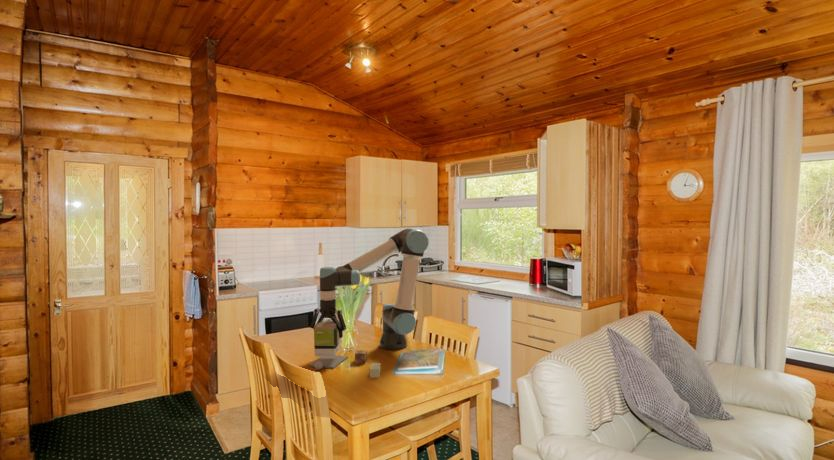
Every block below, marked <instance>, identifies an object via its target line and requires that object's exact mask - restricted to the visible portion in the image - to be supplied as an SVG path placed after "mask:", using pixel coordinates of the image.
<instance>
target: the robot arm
mask: <svg viewBox="0 0 834 460" xmlns="http://www.w3.org/2000/svg"><path fill="white" fill-rule="evenodd" d="M428 248H429V237H428V235H427V234H426V233H425V232H424V231H422V230H421V229H417V228H416V229H415V228H405V229H402V230H401V231H399V232H397V233H395V234H394V235H392V236H390V237H389V238H388V239H387V241H385V242H383V243H381V244H379V245H378V246H376V247H375V248H373V249H371V250H369V251H367V252H366V253H364V254H362V255H360V256H358V257H357V258H355V259H352V260H351V261H349V262H348V263H345V264H344V265H340V266H337V267H334V266H323V267H321V268H320V270H319V299H320V300H319V308H318V307H317V308H314V310H313V317H312V319H311V320H312V321H310V322H311V323H310V327H309V328H310V329H313V330H314V326H315V325H316V324H317V323H318V322H321V321H322V320H323V319H331V320H333V322H334V323H336V325H337V329H338V332H337V345H340V344H341V345H342V338H343V336H344V335H343V332H344V331H346V330H347V326H346V322H345V319H344V318H343V317H344V316H343V310H342V309H339V310H338V309H337V306H336V305H337V301H336V300H337V299H336V296H337V295H336V292H337V291H336V287H342V286H346V287H347V286H357V285H359V284H360V282H361V274H360V273H362V272H364V271H366V270H367V269H369V268H371V267H372V266H375V265H376V264H379V263H380V262H381V261H384V260H385V259H387V258H388V257H390V256H392V255H394V254H399V253H400V254H401V256H402V257H403V259H402V263H401V270H400V277H399V282H398V288H397V295H396V302H394V303H385V304H384V305H382V310H381V312H382V333H381V337H380V340H379V347H380V348H382V349H385V350H401V349H404V348H406V347H407V346H408V340H407V337H406V336H407V335H408V334H410V333H412V332H413V331H414V330H415V328H416V325H417V320H416V317H415V310H416V309H415V307H414V297H415V291H416V284H417V280H418V273H419V265H420V260H421V259H422V258H424V255H425V251H426V250H427V249H428ZM319 314H320V316H319ZM336 315H337V316H336ZM337 319H339V321H338V320H337ZM339 322H340V323H339Z"/></svg>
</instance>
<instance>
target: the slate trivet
mask: <svg viewBox="0 0 834 460" xmlns="http://www.w3.org/2000/svg"><path fill="white" fill-rule="evenodd" d="M348 359H349V356H346V355H335V356H319V357H318V358H316V359H315V360H314V361H312V362H311V363H310V364H309V363H308V367H310V368H311V367H312V368H315V367H314V364H315V362H316V361H321V362H322V363H323V367H322V368H321V369H331V370H334V369H335V368H337V367H338V366H340V365H341V364H342V363H344V361H346V360H348Z"/></svg>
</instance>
